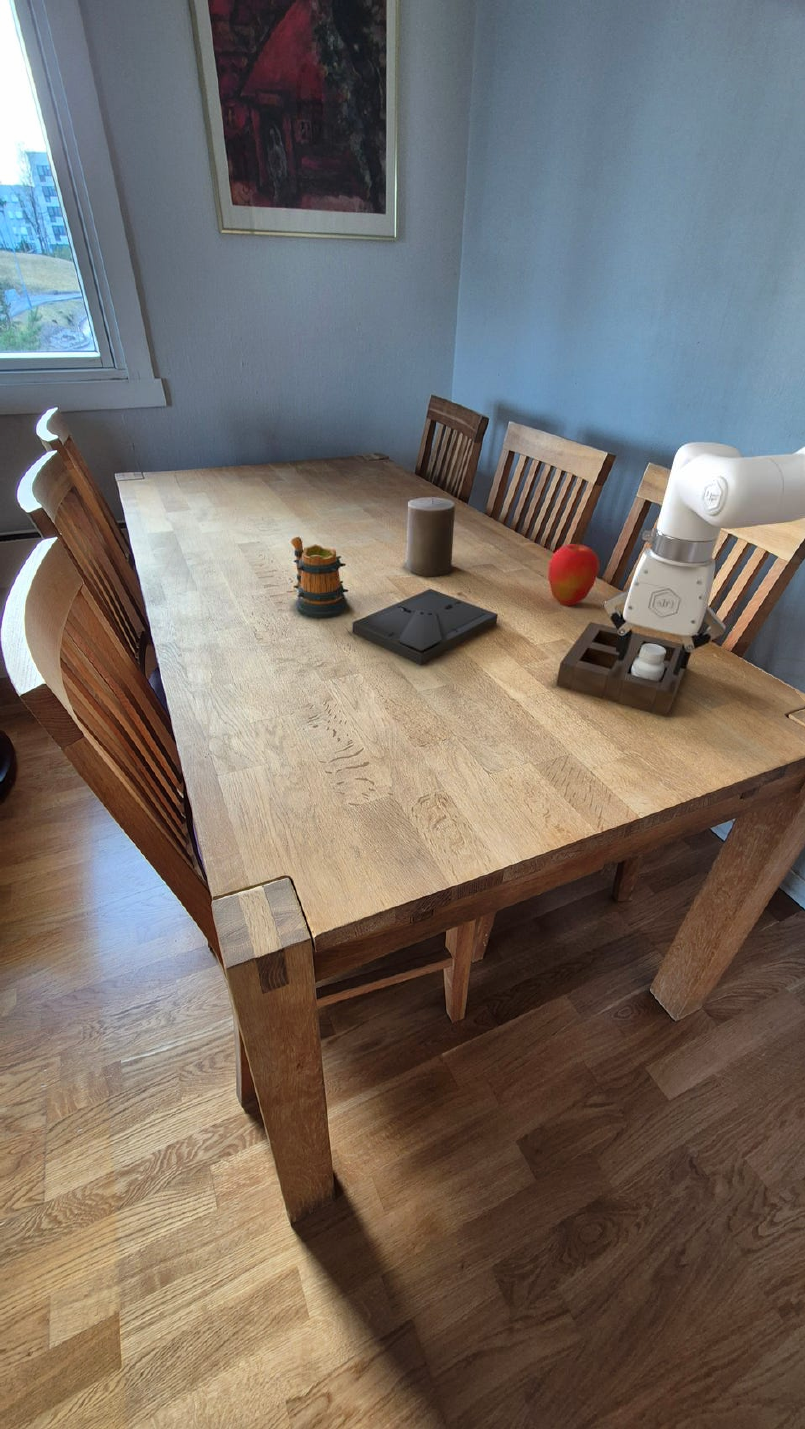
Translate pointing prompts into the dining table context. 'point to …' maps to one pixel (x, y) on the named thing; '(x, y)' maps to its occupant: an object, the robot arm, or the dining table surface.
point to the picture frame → (424, 625)
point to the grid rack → (619, 670)
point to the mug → (318, 581)
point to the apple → (572, 573)
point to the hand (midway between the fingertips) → (649, 663)
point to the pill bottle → (649, 662)
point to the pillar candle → (430, 536)
